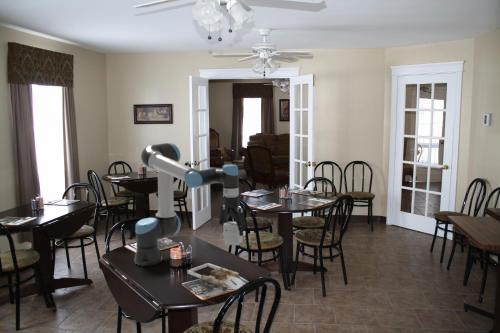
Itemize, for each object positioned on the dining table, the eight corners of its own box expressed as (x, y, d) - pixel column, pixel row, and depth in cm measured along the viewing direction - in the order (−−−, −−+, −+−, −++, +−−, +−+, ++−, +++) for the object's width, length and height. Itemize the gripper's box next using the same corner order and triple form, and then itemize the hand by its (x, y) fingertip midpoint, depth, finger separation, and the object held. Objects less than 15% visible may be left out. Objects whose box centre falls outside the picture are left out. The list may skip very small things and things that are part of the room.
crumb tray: (187, 275, 218) (186, 270, 218) (208, 267, 228) (207, 262, 228) (201, 281, 211) (201, 276, 210) (222, 272, 221) (222, 267, 220)
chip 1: (210, 275, 214) (210, 271, 214) (216, 272, 217) (215, 268, 217) (216, 277, 212) (216, 272, 212) (222, 274, 215) (222, 270, 215)
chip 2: (215, 278, 211) (214, 273, 211) (220, 275, 214) (220, 271, 214) (220, 280, 208) (220, 275, 208) (226, 277, 211) (226, 273, 211)
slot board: (201, 281, 211) (201, 275, 210) (222, 272, 221) (222, 267, 220) (217, 287, 202) (217, 282, 202) (238, 278, 212) (238, 273, 212)
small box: (242, 242, 218) (241, 221, 217) (239, 245, 213) (238, 224, 211) (227, 241, 220) (226, 221, 219) (223, 244, 215) (222, 224, 213)
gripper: (210, 194, 218) (212, 237, 221) (242, 200, 203) (243, 246, 206) (221, 192, 223) (222, 234, 226) (253, 197, 208) (254, 242, 211)
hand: (232, 239), depth 216 cm, fingers closed on small box, 9 cm apart
